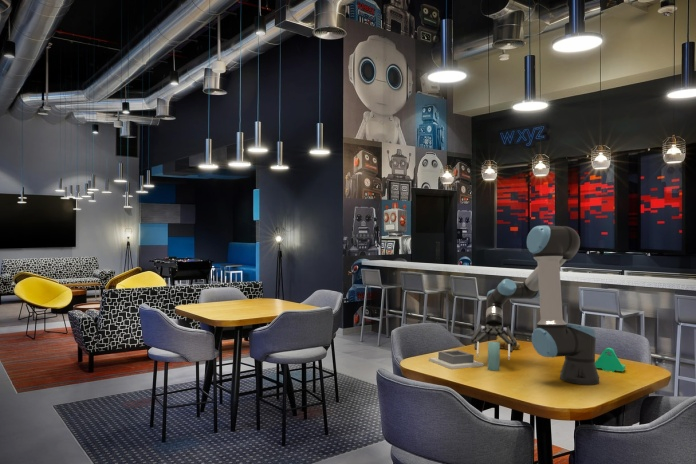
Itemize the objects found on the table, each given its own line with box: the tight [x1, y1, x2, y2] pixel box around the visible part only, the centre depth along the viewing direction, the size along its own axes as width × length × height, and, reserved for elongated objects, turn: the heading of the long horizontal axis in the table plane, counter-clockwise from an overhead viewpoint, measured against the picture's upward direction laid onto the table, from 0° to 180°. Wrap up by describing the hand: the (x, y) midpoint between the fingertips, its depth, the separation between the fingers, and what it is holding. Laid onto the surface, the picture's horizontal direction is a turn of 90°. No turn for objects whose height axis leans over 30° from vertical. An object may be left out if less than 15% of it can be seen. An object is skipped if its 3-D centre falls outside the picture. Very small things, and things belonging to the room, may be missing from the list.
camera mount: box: [595, 347, 626, 373], centre depth 248 cm, size 12×8×10 cm, turn 55°
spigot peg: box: [487, 341, 501, 372], centre depth 244 cm, size 5×5×12 cm
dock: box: [428, 349, 485, 370], centre depth 255 cm, size 18×18×5 cm
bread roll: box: [495, 335, 521, 350], centre depth 294 cm, size 13×10×8 cm
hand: (493, 356), depth 243 cm, fingers open, 13 cm apart
